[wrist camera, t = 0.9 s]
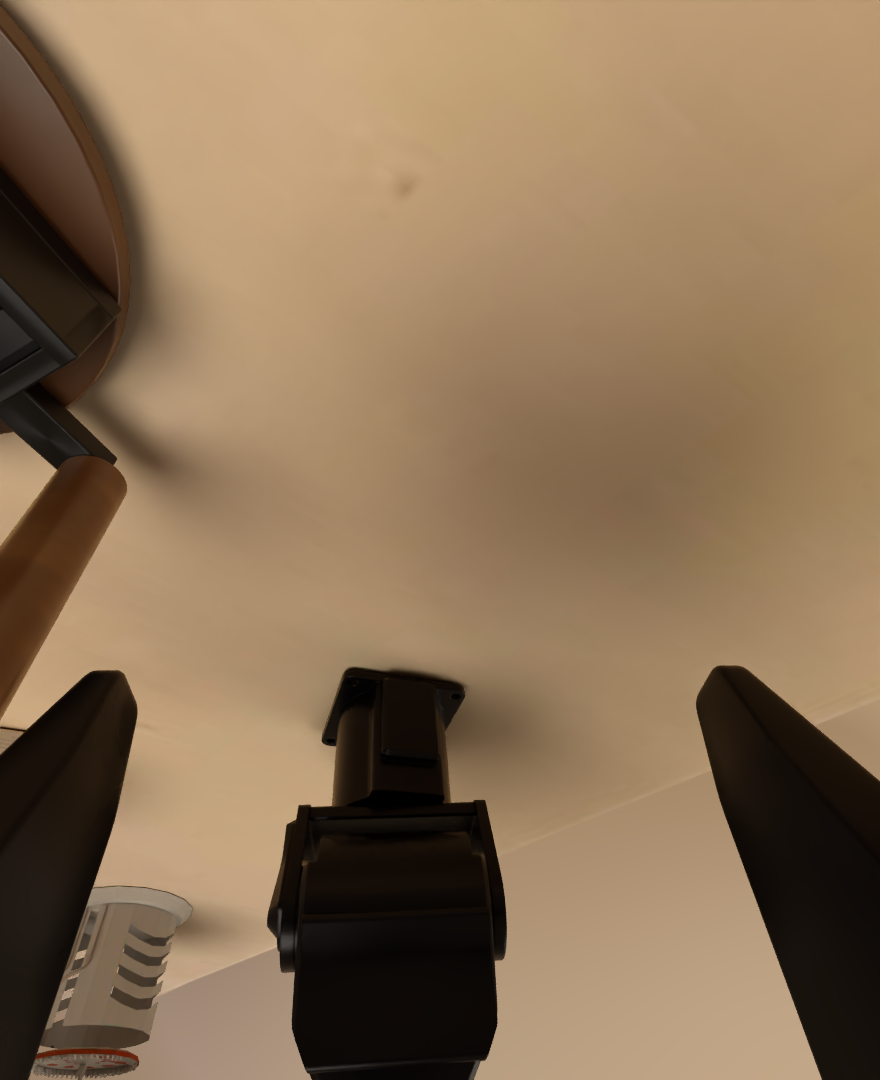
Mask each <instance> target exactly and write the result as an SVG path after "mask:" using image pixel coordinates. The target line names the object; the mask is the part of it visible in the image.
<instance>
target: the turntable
mask: <svg viewBox="0 0 880 1080" xmlns="http://www.w3.org/2000/svg"><path fill="white" fill-rule="evenodd" d="M0 167H1V168H2V169H3V170H4V172H5V173H6V174H7V175H8V176H9V177H10V179H11V180H12V181H13V182H14V183H15V184H16V186H17V187H18V188H19V189H20V190H21V191H22V193H23V194H24V195H25V196H26V197H27V198H28V200H29V201H30V202H31V203H32V204H33V205H34V207H35V208H36V209H37V210H38V211H39V212H40V214H41V215H42V216H43V217H44V218H45V219H46V221H47V222H48V223H49V224H50V225H51V227H52V228H53V229H54V230H55V231H56V232H57V234H58V235H59V236H60V237H61V238H62V239H63V241H64V242H65V243H66V244H67V245H68V246H69V248H70V249H71V250H72V251H73V252H74V253H75V255H76V256H77V257H78V258H79V259H80V260H81V262H82V263H83V264H84V265H85V266H86V267H87V269H88V270H89V271H90V272H91V273H92V275H93V276H94V277H95V278H96V279H97V280H98V282H99V283H100V284H101V285H102V286H103V287H104V289H105V290H106V291H107V292H108V293H109V294H110V296H111V297H112V298H113V299H114V300H115V301H116V303H117V304H118V305H119V306H120V307H121V309H122V311H121V313H120V314H119V315H118V316H117V317H116V318H115V319H114V320H113V321H112V323H111V324H110V325H109V326H108V327H107V328H106V329H105V330H104V331H103V332H102V333H101V334H100V336H99V337H98V338H97V339H96V340H95V341H94V342H93V343H92V344H91V345H90V346H89V347H88V348H87V349H86V351H85V352H84V353H83V354H82V355H81V356H80V357H79V358H78V359H76V360H75V361H73V362H71V363H70V364H68V365H66V366H65V367H63V368H61V369H60V370H58V371H56V372H55V373H53V374H51V375H50V376H48V377H46V378H45V379H43V380H41V381H40V382H39V383H40V384H41V385H42V386H43V387H44V388H45V389H46V390H47V391H48V392H49V393H50V394H51V395H53V396H54V397H55V398H56V399H57V400H58V401H59V402H60V403H61V404H62V405H63V406H64V407H65V408H67V407H69V406H70V405H71V404H73V403H74V402H75V401H77V400H78V399H79V398H80V397H81V396H82V395H83V393H84V392H85V391H86V390H87V389H88V388H89V387H90V386H91V385H92V384H93V383H94V382H95V380H96V379H97V378H98V377H99V376H100V374H101V373H102V371H103V370H104V368H105V367H106V365H107V364H108V362H109V361H110V359H111V358H112V356H113V355H114V352H115V350H116V347H117V345H118V343H119V340H120V338H121V335H122V333H123V329H124V325H125V320H126V316H127V312H128V307H129V293H130V265H129V252H128V244H127V239H126V234H125V229H124V224H123V219H122V214H121V211H120V208H119V204H118V201H117V198H116V195H115V192H114V189H113V186H112V183H111V180H110V177H109V174H108V172H107V170H106V167H105V165H104V163H103V161H102V158H101V156H100V154H99V152H98V149H97V147H96V145H95V142H94V140H93V138H92V136H91V134H90V132H89V131H88V129H87V127H86V125H85V123H84V122H83V120H82V118H81V116H80V115H79V113H78V111H77V109H76V107H75V106H74V104H73V102H72V100H71V98H70V97H69V95H68V94H67V92H66V91H65V89H64V88H63V86H62V85H61V83H60V82H59V80H58V79H57V77H56V76H55V75H54V73H53V72H52V70H51V69H50V67H49V66H48V64H47V63H46V61H45V60H44V58H43V57H42V56H41V54H40V53H39V52H38V50H37V49H36V48H35V47H34V45H33V44H32V43H31V42H30V41H29V39H28V38H27V37H26V36H25V34H24V33H23V32H22V31H21V29H20V28H19V27H18V26H17V25H16V23H15V22H14V21H13V20H12V18H11V17H10V16H9V15H8V14H7V12H6V11H5V10H4V9H3V8H2V7H1V6H0ZM9 432H14V431H13V430H11V429H10V428H9V427H8V426H7V425H6V424H5V423H3V422H2V421H1V420H0V434H3V433H9Z"/></svg>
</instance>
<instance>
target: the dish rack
mask: <svg viewBox="0 0 880 1080" xmlns="http://www.w3.org/2000/svg"><path fill="white" fill-rule="evenodd" d="M121 311H122V309H121V307H120V306H119V305H118V304H117V303H116V301H115V300H114V299H113V298H112V297H111V296H110V294H109V293H108V292H107V291H106V290H105V289H104V287H103V286H102V285H101V284H100V283H99V282H98V280H97V279H96V278H95V277H94V276H93V275H92V273H91V272H90V271H89V270H88V269H87V267H86V266H85V265H84V264H83V263H82V262H81V260H80V259H79V258H78V257H77V256H76V255H75V253H74V252H73V251H72V250H71V249H70V248H69V246H68V245H67V244H66V243H65V242H64V241H63V239H62V238H61V237H60V236H59V235H58V234H57V232H56V231H55V230H54V229H53V228H52V227H51V225H50V224H49V223H48V222H47V221H46V219H45V218H44V217H43V216H42V215H41V214H40V212H39V211H38V210H37V209H36V208H35V207H34V205H33V204H32V203H31V202H30V201H29V200H28V198H27V197H26V196H25V195H24V194H23V193H22V191H21V190H20V189H19V188H18V187H17V186H16V184H15V183H14V182H13V181H12V180H11V179H10V177H9V176H8V175H7V174H6V173H5V172H4V170H3V169H2V168H1V167H0V420H1V421H2V422H3V423H5V424H6V425H7V426H8V427H9V428H10V429H11V430H13V431H14V432H15V433H16V434H17V435H18V436H19V437H20V438H22V439H23V440H24V441H25V442H26V443H27V444H28V445H30V446H31V447H32V448H33V449H34V450H35V451H36V452H37V453H39V454H40V455H41V456H42V457H43V458H44V459H45V460H47V461H48V462H49V463H50V464H51V465H52V466H53V467H55V468H56V469H57V471H56V472H55V474H54V475H53V476H52V478H51V479H50V480H49V482H48V483H47V484H46V486H45V487H44V488H43V490H42V491H41V492H40V494H39V495H38V496H37V498H36V499H35V500H34V502H33V503H32V504H31V506H30V507H29V508H28V510H27V511H26V512H25V514H24V515H23V517H22V518H21V519H20V521H19V522H18V523H17V525H16V526H15V527H14V529H13V530H12V531H11V533H10V534H9V535H8V537H7V538H6V539H5V541H4V542H3V543H2V545H1V546H0V720H1V718H2V716H3V715H4V713H5V711H6V709H7V707H8V706H9V704H10V702H11V700H12V698H13V697H14V695H15V693H16V691H17V690H18V688H19V686H20V684H21V682H22V681H23V679H24V677H25V675H26V673H27V672H28V670H29V668H30V666H31V664H32V663H33V661H34V659H35V657H36V655H37V654H38V652H39V650H40V648H41V646H42V645H43V643H44V641H45V639H46V638H47V636H48V634H49V632H50V630H51V629H52V627H53V625H54V623H55V621H56V620H57V618H58V616H59V614H60V612H61V611H62V609H63V607H64V605H65V603H66V602H67V600H68V598H69V596H70V594H71V593H72V591H73V589H74V587H75V586H76V584H77V582H78V580H79V578H80V577H81V575H82V573H83V571H84V569H85V568H86V566H87V564H88V562H89V560H90V559H91V557H92V555H93V553H94V551H95V550H96V548H97V546H98V544H99V542H100V541H101V539H102V537H103V535H104V534H105V532H106V530H107V528H108V526H109V525H110V523H111V521H112V519H113V517H114V516H115V514H116V512H117V510H118V508H119V507H120V505H121V503H122V501H123V499H124V498H125V496H126V493H127V485H126V481H125V479H124V477H123V475H122V474H121V473H120V471H119V470H118V469H117V468H116V467H114V466H113V465H114V464H115V462H116V460H117V458H116V456H115V455H114V454H113V453H111V452H110V451H109V450H108V449H107V448H106V447H105V446H104V445H103V444H102V443H101V442H100V441H99V440H98V439H97V438H96V437H95V436H94V435H93V434H92V433H91V432H90V431H89V430H88V429H87V428H86V427H85V426H84V425H83V424H81V423H80V422H79V421H78V420H77V419H76V418H75V417H74V416H73V415H72V414H71V413H70V412H69V411H68V410H67V409H66V408H65V407H64V406H63V405H62V404H61V403H60V402H59V401H58V400H57V399H56V398H55V397H54V396H53V395H51V394H50V393H49V392H48V391H47V390H46V389H45V388H44V387H43V386H42V385H41V384H40V383H39V382H40V381H41V380H43V379H45V378H46V377H48V376H50V375H51V374H53V373H55V372H56V371H58V370H60V369H61V368H63V367H65V366H66V365H68V364H70V363H71V362H73V361H75V360H76V359H78V358H79V357H80V356H81V355H82V354H83V353H84V352H85V351H86V349H87V348H88V347H89V346H90V345H91V344H92V343H93V342H94V341H95V340H96V339H97V338H98V337H99V336H100V334H101V333H102V332H103V331H104V330H105V329H106V328H107V327H108V326H109V325H110V324H111V323H112V321H113V320H114V319H115V318H116V317H117V316H118V315H119V314H120V313H121Z"/></svg>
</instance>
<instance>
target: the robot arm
mask: <svg viewBox="0 0 880 1080" xmlns="http://www.w3.org/2000/svg"><path fill="white" fill-rule="evenodd" d="M464 698H465V691H464V687H463V686H461V685H458V684H451V683H444V682H437V681H429V680H422V679H415V678H408V677H401V676H394V675H387V674H380V673H372V672H365V671H358V670H349V671H346V672H345V673H344V674H343V676H342V679H341V682H340V685H339V688H338V691H337V693H336V696H335V699H334V702H333V705H332V708H331V711H330V713H329V716H328V719H327V722H326V725H325V728H324V731H323V733H322V742H323V744H325V745H329V746H336V756H335V770H334V784H333V798H332V806H327V807H311V805H299V807H298V813H297V819H296V820H295V821H293V822H291V823H289V824H287V826H286V834H285V842H284V850H283V857H282V862H281V867H280V871H279V874H278V878H277V882H276V885H275V889H274V893H273V896H272V900H271V904H270V907H269V911H268V918H267V927H268V928H269V929H270V931H271V932H272V933H273V934H274V936H275V937H276V938H277V948H278V951H280V968H281V972H282V973H287V972H295V978H294V994H293V1009H292V1030H293V1034H294V1037H295V1041H296V1044H297V1047H298V1050H299V1053H300V1056H301V1059H302V1062H303V1064H304V1067H305V1070H306V1071H307V1073H309V1074H310V1076H311V1079H312V1080H474V1077H475V1074H476V1072H477V1069H478V1067H479V1064H480V1061H483V1060H486V1058H487V1056H488V1054H489V1051H490V1048H491V1044H492V1041H493V1038H494V1034H495V1031H496V1027H497V994H496V977H495V961H496V960H503V959H504V956H505V952H506V940H507V939H506V938H507V925H506V924H507V922H506V907H505V896H504V889H503V882H502V877H501V872H500V867H499V862H498V858H497V853H496V848H495V844H494V839H493V834H492V830H491V825H490V820H489V816H488V811H487V806H486V802H485V800H474V801H473V802H462V803H451V796H450V784H449V772H448V760H447V748H446V736H445V731H446V729H447V727H448V725H449V724H450V722H451V720H452V718H453V717H454V715H455V713H456V712H457V710H458V708H459V706H460V705H461V703H462V701H463V699H464ZM696 709H697V714H698V718H699V721H700V725H701V729H702V733H703V737H704V741H705V745H706V749H707V753H708V757H709V761H710V765H711V769H712V773H713V776H714V781H715V784H716V788H717V792H718V795H719V799H720V802H721V805H722V808H723V811H724V814H725V817H726V820H727V822H728V825H729V828H730V830H731V833H732V836H733V838H734V841H735V844H736V847H737V849H738V852H739V855H740V858H741V860H742V863H743V866H744V869H745V871H746V874H747V877H748V879H749V882H750V885H751V888H752V890H753V893H754V896H755V898H756V901H757V903H758V907H759V909H760V912H761V915H762V918H763V920H764V923H765V926H766V928H767V931H768V934H769V937H770V939H771V942H772V945H773V948H774V950H775V953H776V955H777V958H778V961H779V964H780V967H781V969H782V972H783V975H784V977H785V980H786V983H787V986H788V988H789V991H790V994H791V996H792V999H793V1002H794V1005H795V1007H796V1010H797V1013H798V1015H799V1018H800V1021H801V1024H802V1026H803V1029H804V1032H805V1035H806V1037H807V1040H808V1043H809V1046H810V1048H811V1051H812V1053H813V1056H814V1059H815V1062H816V1065H817V1067H818V1070H819V1073H820V1075H821V1078H822V1080H880V781H879V780H878V779H877V778H875V777H874V776H873V775H872V774H871V773H869V772H868V771H867V770H866V769H865V768H864V767H862V766H861V765H860V764H859V763H858V762H857V761H855V760H854V759H853V758H852V757H851V756H849V755H848V754H847V753H846V752H845V751H843V750H842V749H841V748H840V747H839V746H838V745H836V744H835V743H834V742H833V741H832V740H830V739H829V738H828V737H827V736H826V735H824V734H823V733H822V732H821V731H820V730H818V729H817V728H816V727H815V726H814V725H813V724H811V723H810V722H809V721H808V720H807V719H805V718H804V717H803V716H802V715H801V714H799V713H798V712H797V711H796V710H795V709H794V708H792V707H791V706H790V705H789V704H788V703H786V702H785V701H784V700H783V699H782V698H780V697H779V696H778V695H777V694H776V693H775V692H773V691H772V690H771V689H770V688H769V687H767V686H766V685H765V684H764V683H763V682H761V681H760V680H759V679H758V678H757V677H755V676H754V675H753V674H752V673H751V672H750V671H748V670H747V669H745V668H744V667H741V666H737V665H732V666H717V667H715V668H714V669H713V670H712V671H711V673H710V674H709V676H708V678H707V680H706V681H705V683H704V685H703V687H702V688H701V690H700V692H699V694H698V696H697V700H696ZM136 720H137V704H136V701H135V698H134V696H133V693H132V691H131V689H130V686H129V684H128V682H127V679H126V677H125V675H124V674H123V673H122V672H121V671H118V670H99V671H92V672H90V673H88V674H87V675H85V676H84V677H83V678H82V679H81V680H80V681H79V682H78V683H77V684H76V685H74V686H73V687H72V688H71V689H70V690H69V691H68V692H67V693H66V694H65V695H64V696H63V697H62V698H60V699H59V700H58V701H57V702H56V703H55V704H54V705H53V706H52V707H51V708H50V709H49V710H48V711H46V712H45V713H44V714H43V715H42V716H41V717H40V718H39V719H38V720H37V721H36V722H35V723H34V724H32V725H31V726H30V727H29V728H28V729H27V730H26V731H25V732H24V733H23V734H22V735H21V736H19V737H18V738H17V739H16V740H15V741H14V742H13V743H12V744H11V745H10V746H9V747H8V748H7V749H5V750H4V751H3V752H2V753H1V754H0V1080H28V1079H29V1076H30V1073H31V1070H32V1067H33V1064H34V1061H35V1058H36V1055H37V1052H38V1049H39V1046H40V1043H41V1040H42V1037H43V1034H44V1031H45V1028H46V1025H47V1022H48V1019H49V1016H50V1013H51V1011H52V1008H53V1005H54V1002H55V999H56V996H57V993H58V990H59V987H60V984H61V981H62V978H63V975H64V972H65V969H66V966H67V963H68V960H69V957H70V954H71V951H72V948H73V945H74V942H75V939H76V936H77V933H78V930H79V927H80V924H81V921H82V918H83V915H84V912H85V909H86V906H87V903H88V900H89V897H90V894H91V891H92V888H93V885H94V882H95V879H96V876H97V873H98V870H99V867H100V864H101V861H102V858H103V855H104V852H105V849H106V846H107V843H108V840H109V837H110V834H111V831H112V828H113V824H114V821H115V817H116V813H117V809H118V804H119V800H120V795H121V790H122V786H123V781H124V776H125V772H126V767H127V762H128V758H129V753H130V748H131V744H132V739H133V734H134V730H135V725H136Z"/></svg>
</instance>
